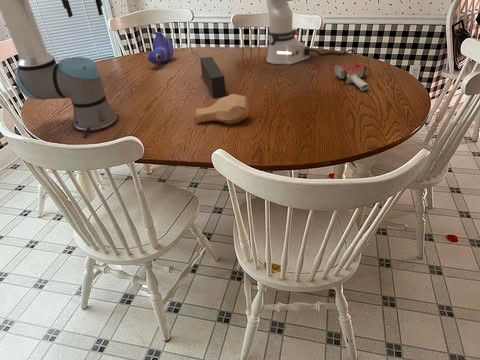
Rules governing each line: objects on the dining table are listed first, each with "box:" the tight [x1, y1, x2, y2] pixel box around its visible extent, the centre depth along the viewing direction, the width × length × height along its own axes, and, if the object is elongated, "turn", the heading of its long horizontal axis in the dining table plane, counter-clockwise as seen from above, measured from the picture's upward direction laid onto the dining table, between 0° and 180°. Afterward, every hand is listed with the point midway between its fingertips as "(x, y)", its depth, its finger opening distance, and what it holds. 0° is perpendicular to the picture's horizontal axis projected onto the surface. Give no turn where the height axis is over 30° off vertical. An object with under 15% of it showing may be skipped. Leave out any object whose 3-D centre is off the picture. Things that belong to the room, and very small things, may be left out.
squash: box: [195, 93, 251, 125], centre depth 127 cm, size 11×20×9 cm, turn 92°
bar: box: [199, 56, 227, 99], centre depth 155 cm, size 28×5×8 cm, turn 14°
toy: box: [146, 31, 175, 69], centre depth 182 cm, size 10×17×25 cm
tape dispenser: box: [334, 61, 370, 92], centre depth 151 cm, size 18×5×20 cm
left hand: (86, 15), depth 157 cm, fingers open, 13 cm apart
